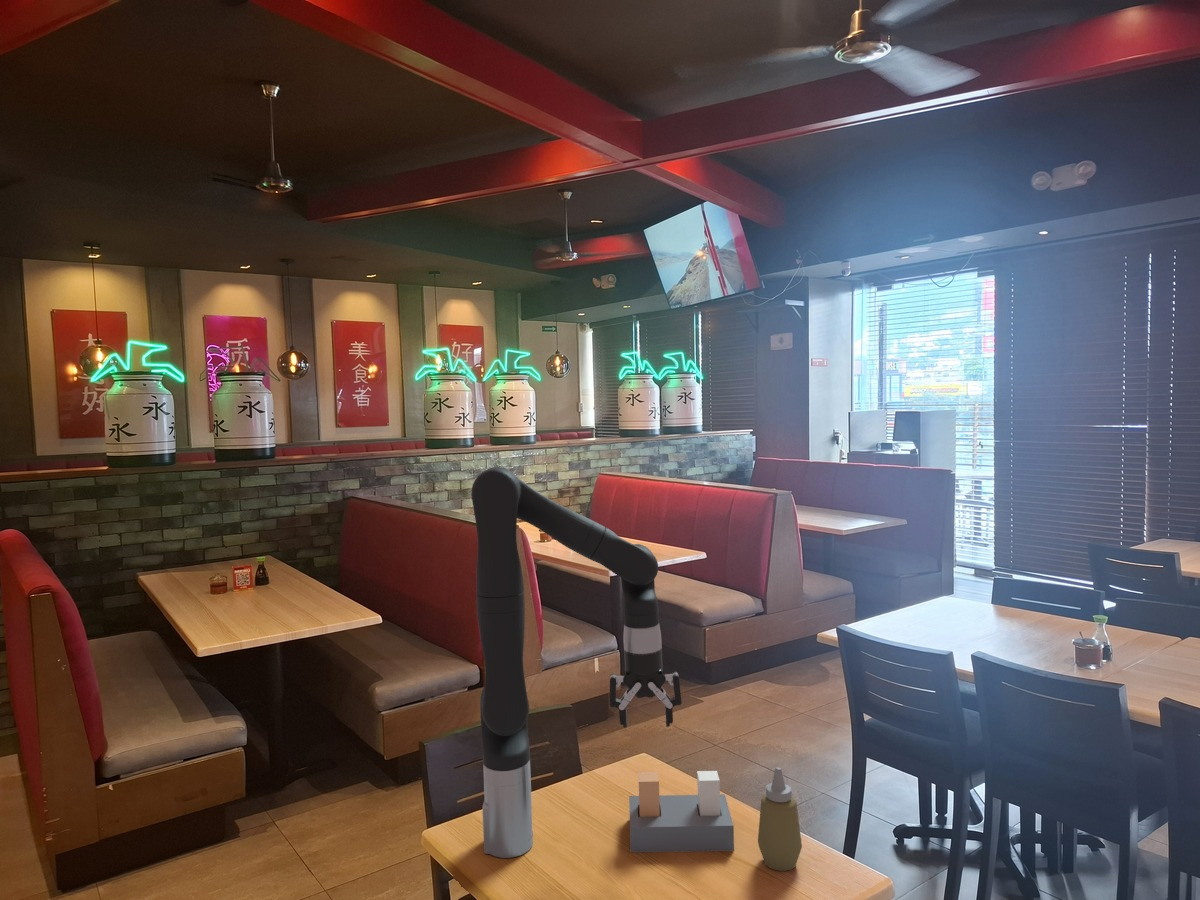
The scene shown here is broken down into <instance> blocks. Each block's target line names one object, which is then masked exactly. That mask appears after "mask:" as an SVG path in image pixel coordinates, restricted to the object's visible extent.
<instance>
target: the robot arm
mask: <svg viewBox="0 0 1200 900" xmlns="http://www.w3.org/2000/svg"><path fill="white" fill-rule="evenodd" d="M470 492H471V494H470V495H471V502H472V506H473V507H472V508H473V512H474V513H473V514H474V519H475V526H476V534H477V557H476V574H475V575H476V578H475V579H476V581H475V582H476V591H475V595H476V613H477V615H476V616H477V623H478V632H479V638H480V642H481V648H482V654H483V659H484V687H483V688H482V691H481V693H480V696H479V697H480V698H479V701H480V702H479V704H480V706H479V707H480V709H479V711H480V731H481V732H480V733H481V749H482V764H483V793H484V800H483V803H482V828H483V829H482V830H483V853H484V854H486V855H488V854H489V855H491V856H494V857H497V858H502V859H509V858H510V859H511V858H516V857H520V856H521V855H524V854H526V853H527V852H528V851H530V849H532V847H533V845H534V839H533V838H534V837H533V836H534V832H533V807H532V783H531V782H532V781H531V779H532V778H531V756H530V755H531V751H530V750H531V749H530V741H529V740H530V739H529V729H528V717H529V714H530V703H529V698H528V693H527V687H526V681H525V680H526V679H525V677H526V676H525V671H524V644H525V624H526V623H525V622H526V621H525V620H526V619H525V613H526V611H525V610H526V608H525V605H526V604H525V585H524V578H523V577H524V575H523V570H522V564H521V558H520V555H519V550H518V549H519V548H518V543H517V522H518V520H517V519H519V520H521V521H523V522H525V523H527V524H530V525H531V526H532V527H535V528H537V529H539V531H541V532H543V533H545V534H546V535H547V536H549V537H551V538H552V539H554V540H555V541H556V542H557V543H560V544H561V545H562V546H564V547H566V548H568V549H569V550H571V551H573V552H574V553H577V554H578V555H580V556H582V557H584V558H586V559H588V560H591V561H592V562H595V563H598V564H599V565H601V566H602V567H604V568H606V569H607V570H609V571H611V572H612V573H613V574H615V575H616V576H617V577H618V576H619V577H620V580H621V581H620V582H621V586H622V587H621V589H622V595H623V605H622V607H623V608H622V609H623V612H622V613H623V635H622V636H623V641H622V642H623V655H624V673H623V674H624V675H616V673H611V674H610V676H609V707H611V708H616V709H618V714H619V715H618V716H619V717H618V718H619V724H620V726H622V727H623V729H626V728H628V718H627V717H628V716H627V705H628V704H630V702H631V701H632V699H633V698H634V697H636V698H637V699H642V698H649V699H650V698H654V697H655V696H656V697H657V698H658V699H659V700H660V701H661V702H662V703H663V705H664V708H665V709H664V710H665V711H664V712H665V725H666V727H667V728H669V727H671V724H673V722H674V714H673V711H674V710H673V708H674V707H675V706H680V705H681V704H682V703H683V702H682V694H681V686H680V685H681V684H680V677H679V672H677V671H673V672H672V673H668V674H666V673H664V669H663V650H662V649H663V646H662V643H663V641H662V640H663V639H662V631H661V627H660V626H661V625H660V615H659V614H660V613H659V602H658V601H659V600H658V598H657V594H656V590H655V589H656V587H655V583H656V582H655V579H656V577H657V575H658V572H659V563H658V560H657V558H656V556H655V555H654V553H653V552H652V550H650V549H649V548H648V547H647V546H645V545H643V544H639V543H635V544H634V543H631V542H630V541H628V540H625V539H623V538H622V537H620V536H618V534H616V533H615V532H614V531H612V530H611V529H609V528H608V527H605V525H602V524H601V523H598V522H597V521H594V520H593V519H590V518H588V517H586V516H584V515H582V514H580V513H579V512H577V511H574V510H572V509H570V508H567V507H565V506H564V505H561V504H560V503H557V502H555V501H553V500H552V499H551V498H549V497H546V496H545V495H543V494H541V492H539V491H537V490H535V489H534V488H532V487H531V486H529V484H527V483H526V482H524V481H523V480H522V479H520V478H519V477H518V476H517V475H516V474H514V472H512V471H511V470H510V469H508V468H506V467H500V466H494V467H489V468H487V469H485V470H484V471H482V472H481V473H479V474H478V475H477V477H476V478H475V480H474V482H473V483H472V486H471V491H470ZM667 681H668V684H669V685H670V686H672V687H673V693H674V696H673V697H670V695H668V693H667V692H666V690H665V689H664V688H663V685H665V683H666V682H667ZM621 683H623V684H624V685H625V686H626V688H627V689H626V691H625V692H624V694H623V695H622V697H621V698H620V699H619V698H617V688H619V687H620V685H621Z"/></svg>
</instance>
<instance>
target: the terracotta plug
mask: <svg viewBox="0 0 1200 900" xmlns="http://www.w3.org/2000/svg"><path fill="white" fill-rule="evenodd" d="M637 774H638V775H637V777H638V780H637V781H638V796H639V817H660V804H659V795H660V780H659V778H660V777H659V771H640V772H639V771H638V772H637Z"/></svg>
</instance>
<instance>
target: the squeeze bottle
mask: <svg viewBox="0 0 1200 900" xmlns="http://www.w3.org/2000/svg"><path fill="white" fill-rule="evenodd" d="M792 795H793V794H792V787H791V786H790V785H788V784H786V783H785V778H784V774H783V770H782V768H781V767H775V768H774V773H773V777H772V781H771V782H770V783H768V784H767V785H766V786H765V795H764V796H762V798H761V800H760V808H759V809H760V810H759V811H760V813H759V822H758V835H757V845H758V848H759V851H760V853H761V856H762V859H763V861H764V864H765V865H766V866H767V867H768V868H770V869H772V870H775V871H780V872H787V871H791V870H793V869H794V868H796V865H797V863H798V859H799V858H800V853H801V851H802V849H803V843H802V837H801V828H800V820H799V811H798V804H797V800H796V799H795V798H794V797H792Z"/></svg>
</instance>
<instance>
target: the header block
mask: <svg viewBox="0 0 1200 900" xmlns="http://www.w3.org/2000/svg"><path fill="white" fill-rule="evenodd" d="M726 797H727V796H726V794H724V793H723V794H721V793H720V816H699V814H698V794H675V795H674V794H673V795H672V794H670V795H669V794H667V795H660V794H659V804H660V817H639V795H629V796H628V798H629V799H628V803H629V805H628V808H629V837H630V838H629V841H630V847H629V848H630V853H669V852H670V853H671V852H672V853H675V852H676V853H680V852H681V853H682V852H684V853H686V852H689V853H691V852H734V851H735V840H734V839H735V835H734V834H735V833H734V831H735V830H734V829H735V826H734V822H733V819H732V816H731V811H730V808H729V804H728V801H727V800H728V799H727V798H726Z"/></svg>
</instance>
